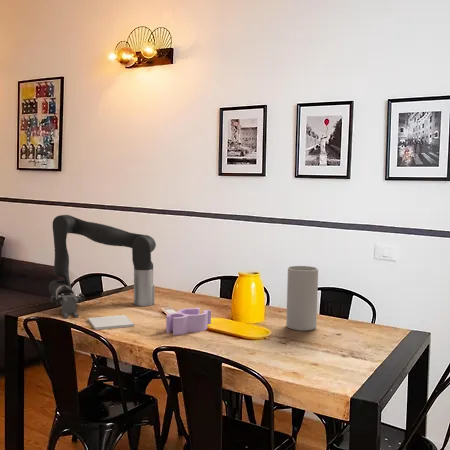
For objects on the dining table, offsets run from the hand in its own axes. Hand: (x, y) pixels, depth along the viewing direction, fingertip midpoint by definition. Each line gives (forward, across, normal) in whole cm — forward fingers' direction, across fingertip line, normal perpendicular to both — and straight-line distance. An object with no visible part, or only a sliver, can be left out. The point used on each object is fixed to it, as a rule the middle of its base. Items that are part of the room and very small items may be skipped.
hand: (69, 301), depth 251 cm
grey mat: (+20, +14, +6) cm, 25 cm away
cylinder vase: (+53, +87, +6) cm, 102 cm away
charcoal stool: (+1, 0, +6) cm, 6 cm away
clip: (+39, +42, +6) cm, 57 cm away
